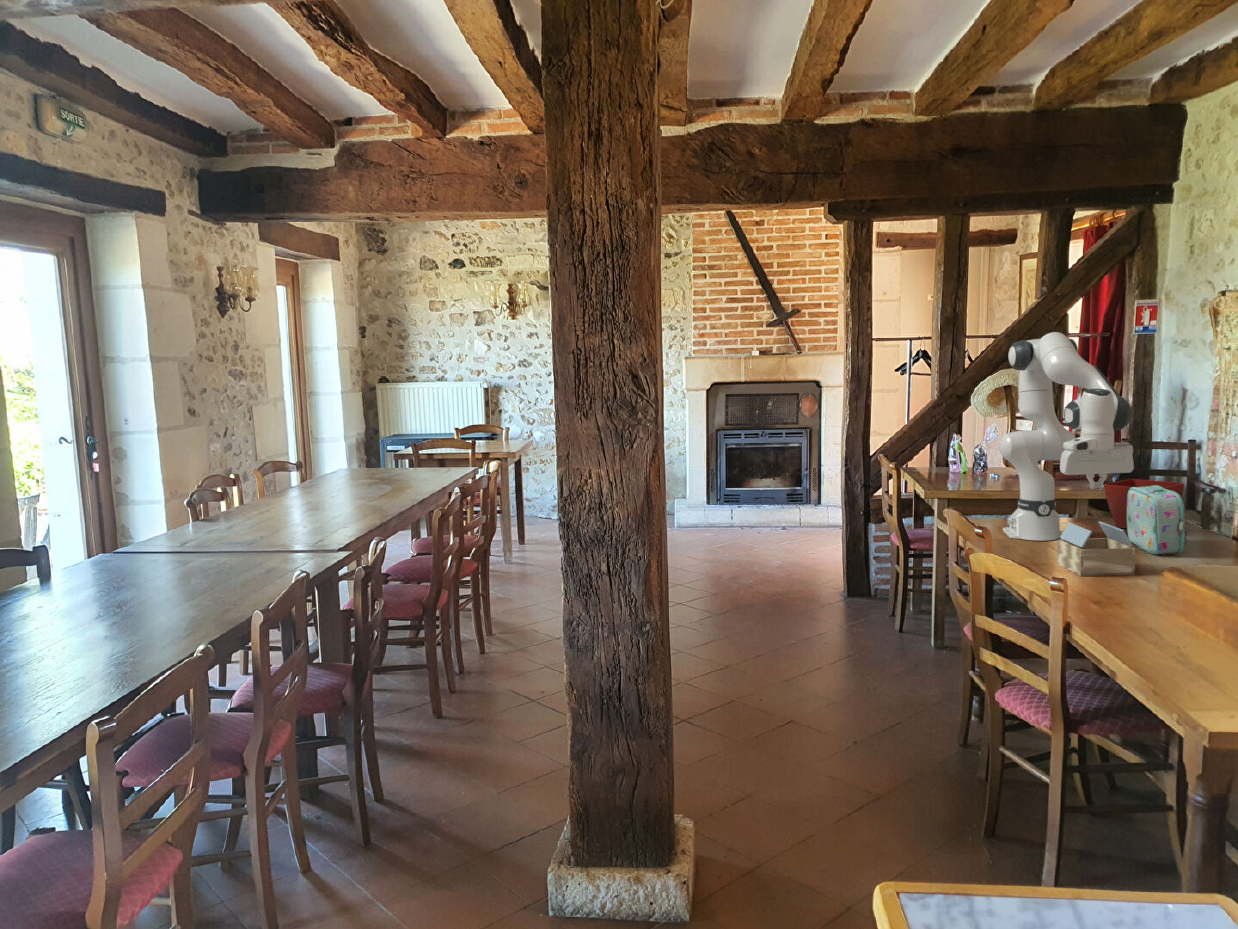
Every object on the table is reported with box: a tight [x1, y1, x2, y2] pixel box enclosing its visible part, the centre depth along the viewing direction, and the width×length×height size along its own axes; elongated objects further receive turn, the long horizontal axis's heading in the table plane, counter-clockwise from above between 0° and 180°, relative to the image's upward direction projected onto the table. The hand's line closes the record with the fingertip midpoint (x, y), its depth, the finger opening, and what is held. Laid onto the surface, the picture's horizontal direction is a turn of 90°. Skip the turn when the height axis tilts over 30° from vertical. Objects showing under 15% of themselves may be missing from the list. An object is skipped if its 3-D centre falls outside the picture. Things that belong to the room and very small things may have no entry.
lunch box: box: [1126, 485, 1187, 555], centre depth 274 cm, size 27×10×21 cm, turn 168°
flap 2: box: [1097, 521, 1134, 547], centre depth 253 cm, size 14×1×6 cm
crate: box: [1056, 537, 1136, 577], centre depth 254 cm, size 15×16×8 cm
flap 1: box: [1059, 522, 1093, 548], centre depth 253 cm, size 14×1×6 cm, turn 177°
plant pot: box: [1103, 478, 1185, 529], centre depth 306 cm, size 19×19×17 cm
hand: (1096, 488), depth 251 cm, fingers closed
